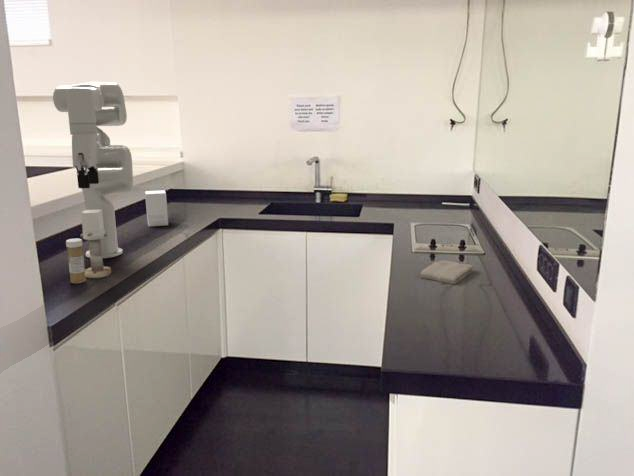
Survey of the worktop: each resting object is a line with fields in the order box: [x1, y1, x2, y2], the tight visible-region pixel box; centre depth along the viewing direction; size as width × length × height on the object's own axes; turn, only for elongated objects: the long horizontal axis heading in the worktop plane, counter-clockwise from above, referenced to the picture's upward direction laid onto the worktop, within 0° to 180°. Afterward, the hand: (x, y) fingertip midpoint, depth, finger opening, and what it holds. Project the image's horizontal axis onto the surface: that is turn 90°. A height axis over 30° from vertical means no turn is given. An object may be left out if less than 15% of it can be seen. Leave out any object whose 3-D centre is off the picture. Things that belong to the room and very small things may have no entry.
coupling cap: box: [80, 209, 108, 241], centre depth 168 cm, size 9×8×8 cm
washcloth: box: [419, 259, 474, 285], centre depth 175 cm, size 12×18×3 cm, turn 145°
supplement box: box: [144, 189, 169, 227], centre depth 243 cm, size 9×9×15 cm
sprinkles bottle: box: [65, 237, 87, 284], centre depth 164 cm, size 5×5×13 cm
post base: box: [85, 239, 112, 279], centre depth 172 cm, size 8×8×12 cm
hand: (89, 185), depth 166 cm, fingers open, 9 cm apart
